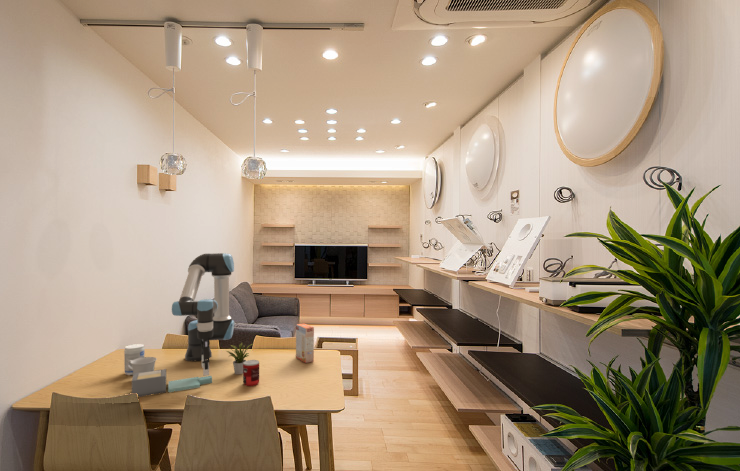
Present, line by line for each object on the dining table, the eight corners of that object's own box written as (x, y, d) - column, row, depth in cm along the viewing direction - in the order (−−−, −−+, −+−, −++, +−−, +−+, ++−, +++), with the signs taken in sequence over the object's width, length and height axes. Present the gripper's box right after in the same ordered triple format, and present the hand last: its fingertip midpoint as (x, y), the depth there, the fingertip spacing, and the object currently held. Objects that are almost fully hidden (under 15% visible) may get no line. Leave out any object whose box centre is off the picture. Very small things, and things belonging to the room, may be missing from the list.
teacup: (134, 374, 211) (134, 356, 211) (161, 375, 210) (161, 356, 210) (119, 383, 199) (119, 363, 199) (147, 383, 198) (148, 364, 198)
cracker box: (314, 361, 233) (314, 327, 233) (305, 363, 230) (305, 328, 230) (304, 355, 245) (304, 322, 245) (295, 357, 241) (295, 323, 241)
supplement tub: (145, 373, 213) (145, 346, 213) (124, 377, 208) (124, 349, 208) (143, 368, 221) (143, 342, 221) (124, 371, 216) (124, 345, 216)
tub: (166, 384, 197) (166, 369, 197) (165, 392, 187) (165, 376, 187) (133, 389, 191) (134, 373, 191) (131, 397, 181) (131, 380, 181)
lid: (210, 377, 207) (210, 373, 207) (212, 385, 196) (212, 380, 196) (168, 384, 198) (168, 379, 198) (168, 392, 187) (168, 387, 187)
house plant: (247, 365, 226) (247, 337, 226) (259, 371, 216) (259, 342, 216) (223, 371, 216) (223, 342, 216) (234, 378, 206) (234, 347, 206)
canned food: (245, 380, 202) (245, 359, 202) (260, 380, 203) (260, 359, 203) (241, 386, 195) (241, 364, 195) (257, 386, 195) (257, 364, 195)
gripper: (196, 325, 210) (196, 364, 210) (198, 336, 187) (198, 380, 187) (211, 324, 213) (211, 362, 213) (215, 334, 191) (215, 377, 191)
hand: (205, 371), depth 200 cm, fingers open, 13 cm apart
